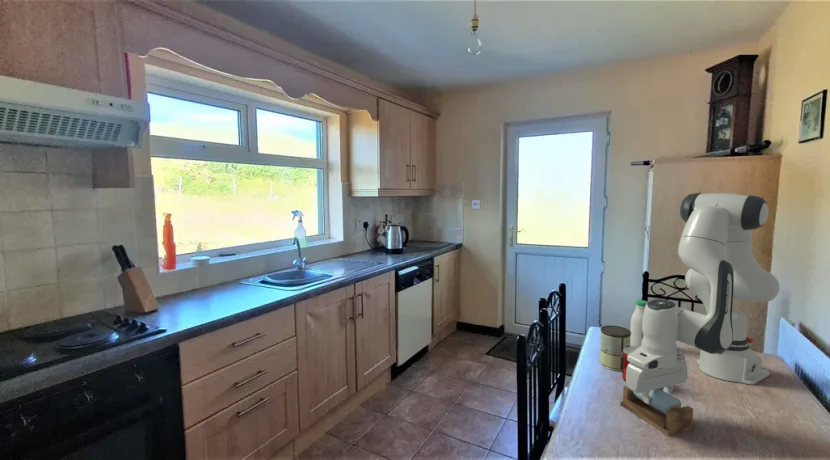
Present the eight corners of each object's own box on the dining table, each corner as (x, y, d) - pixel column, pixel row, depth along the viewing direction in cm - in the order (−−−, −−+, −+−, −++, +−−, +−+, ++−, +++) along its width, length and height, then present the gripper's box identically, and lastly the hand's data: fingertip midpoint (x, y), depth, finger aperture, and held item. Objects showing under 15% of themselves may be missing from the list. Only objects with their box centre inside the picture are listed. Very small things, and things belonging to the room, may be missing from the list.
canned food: (652, 387, 129) (653, 356, 128) (626, 385, 131) (627, 355, 130) (643, 376, 136) (644, 347, 135) (619, 375, 138) (620, 346, 137)
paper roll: (646, 395, 119) (646, 378, 118) (681, 414, 108) (681, 396, 108) (632, 399, 117) (632, 382, 117) (666, 419, 107) (666, 400, 106)
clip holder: (644, 399, 122) (645, 381, 121) (694, 428, 107) (695, 408, 106) (620, 404, 119) (620, 386, 118) (668, 435, 104) (669, 414, 103)
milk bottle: (633, 349, 159) (635, 303, 157) (626, 342, 167) (628, 298, 165) (653, 350, 158) (656, 304, 156) (645, 343, 166) (647, 299, 164)
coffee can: (601, 357, 153) (602, 323, 152) (630, 363, 147) (632, 328, 146) (597, 367, 144) (599, 331, 143) (628, 374, 139) (630, 336, 137)
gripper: (674, 346, 117) (672, 389, 119) (622, 356, 111) (620, 401, 112) (695, 354, 111) (692, 399, 113) (641, 365, 105) (639, 412, 106)
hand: (656, 400), depth 112 cm, fingers closed on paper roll, 5 cm apart
